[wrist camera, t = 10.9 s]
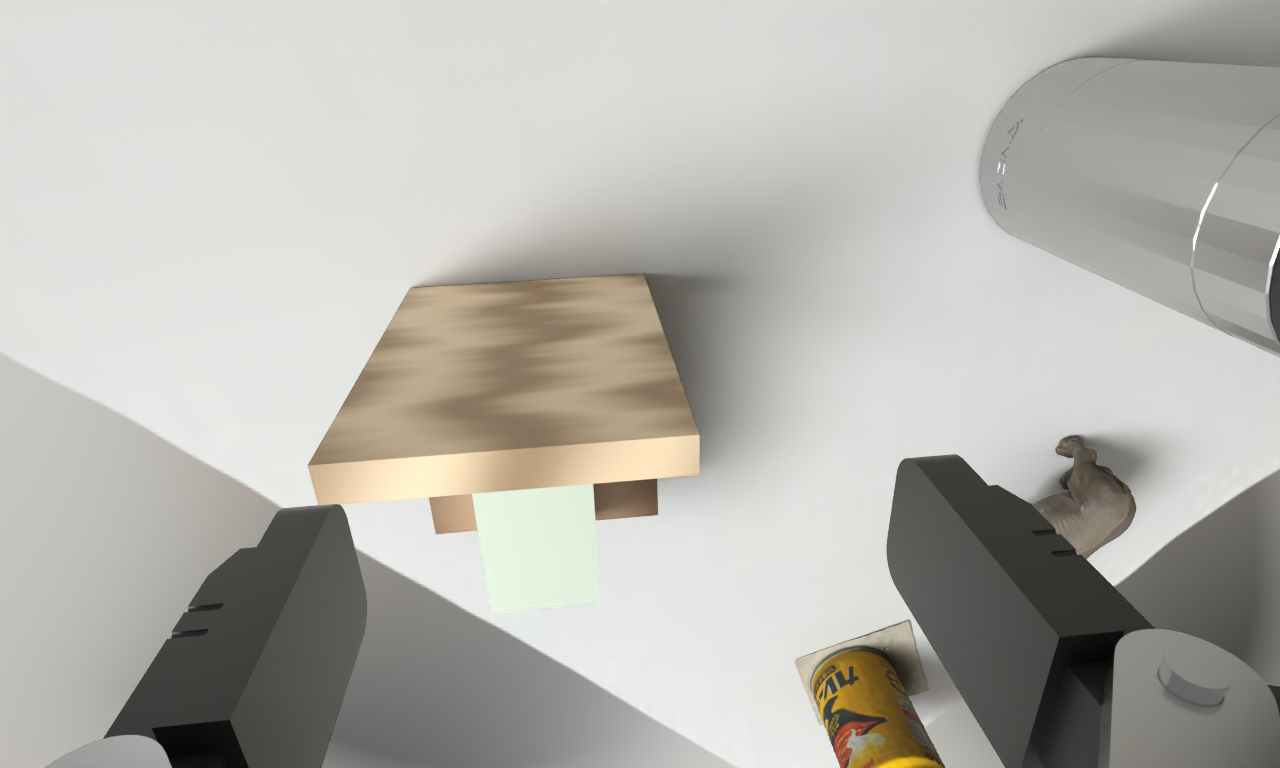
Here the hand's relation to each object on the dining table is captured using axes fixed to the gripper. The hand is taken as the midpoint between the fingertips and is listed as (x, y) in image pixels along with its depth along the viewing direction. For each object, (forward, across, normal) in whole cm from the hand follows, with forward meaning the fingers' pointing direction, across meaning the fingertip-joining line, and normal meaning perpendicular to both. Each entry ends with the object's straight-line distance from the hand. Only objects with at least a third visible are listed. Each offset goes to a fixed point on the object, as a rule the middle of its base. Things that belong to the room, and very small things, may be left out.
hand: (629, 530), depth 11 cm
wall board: (+28, +3, +6) cm, 29 cm away
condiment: (+28, -18, +36) cm, 49 cm away
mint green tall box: (+24, +3, +12) cm, 27 cm away
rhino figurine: (+28, -26, +23) cm, 45 cm away
